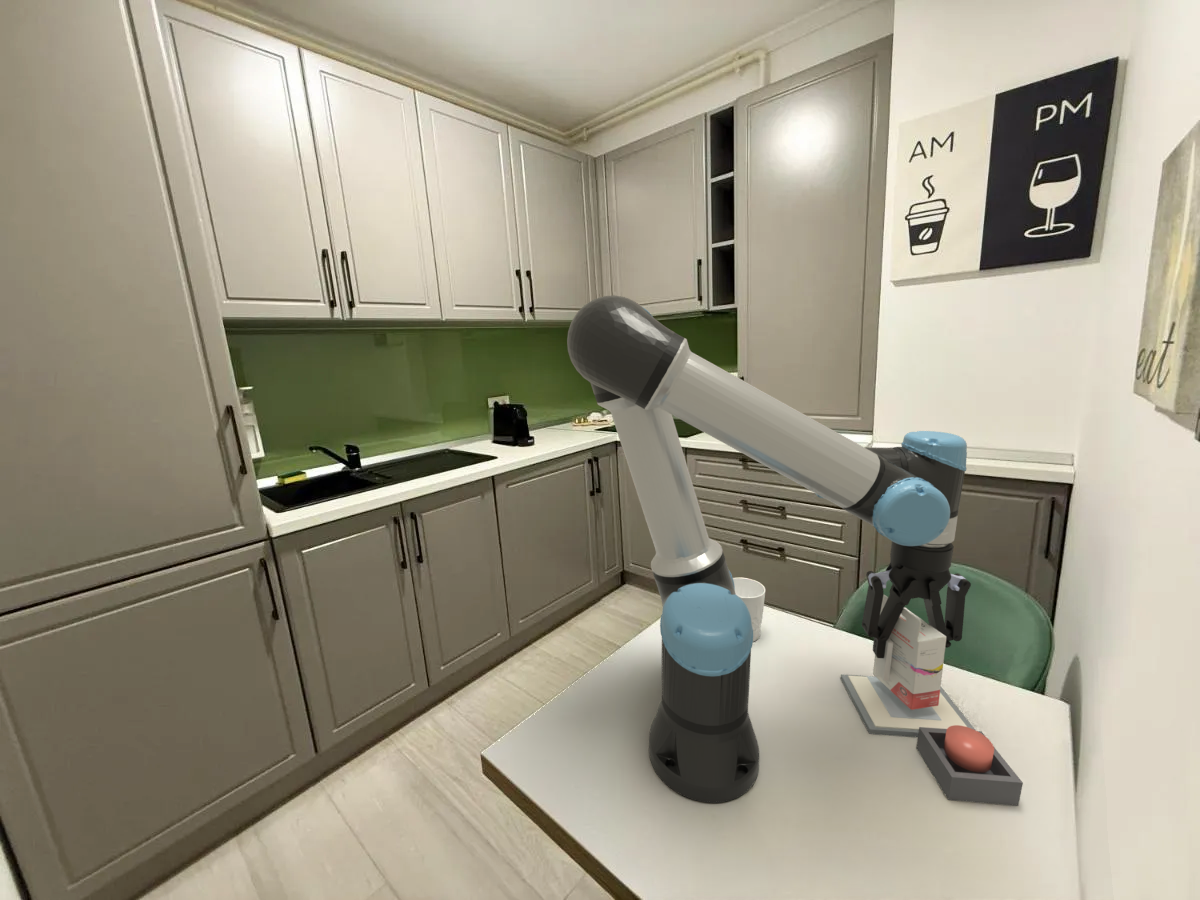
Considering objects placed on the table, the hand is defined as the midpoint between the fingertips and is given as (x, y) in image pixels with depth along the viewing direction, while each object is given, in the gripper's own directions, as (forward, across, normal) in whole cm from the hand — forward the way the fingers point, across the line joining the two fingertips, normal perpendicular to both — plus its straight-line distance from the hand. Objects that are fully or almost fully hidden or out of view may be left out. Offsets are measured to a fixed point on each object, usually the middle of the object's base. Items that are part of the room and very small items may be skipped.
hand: (904, 675), depth 76 cm
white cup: (+5, -22, +17) cm, 28 cm away
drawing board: (+5, 0, -1) cm, 5 cm away
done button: (+2, +2, -13) cm, 13 cm away
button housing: (+5, +2, -13) cm, 14 cm away
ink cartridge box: (+3, 0, 0) cm, 3 cm away
